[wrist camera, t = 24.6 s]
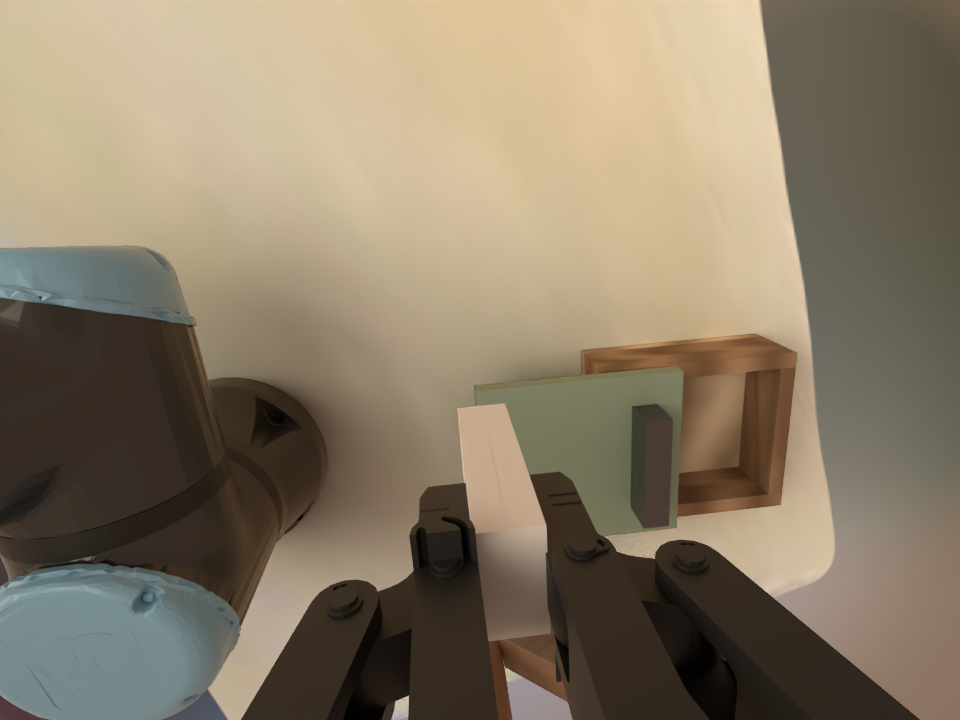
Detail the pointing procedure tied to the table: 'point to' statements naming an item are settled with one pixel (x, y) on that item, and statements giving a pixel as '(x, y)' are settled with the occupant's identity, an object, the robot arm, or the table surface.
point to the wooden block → (524, 666)
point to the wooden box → (721, 415)
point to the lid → (603, 440)
